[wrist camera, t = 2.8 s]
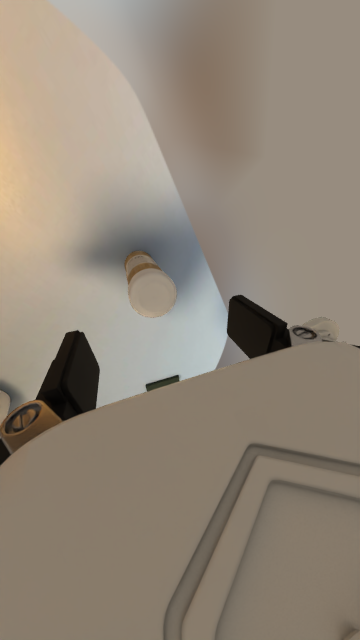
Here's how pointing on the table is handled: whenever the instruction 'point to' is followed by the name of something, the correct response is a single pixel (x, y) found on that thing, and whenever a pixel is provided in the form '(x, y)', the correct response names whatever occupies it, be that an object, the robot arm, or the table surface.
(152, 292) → the sprinkles bottle
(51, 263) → the table surface
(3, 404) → the cup
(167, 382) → the mat
